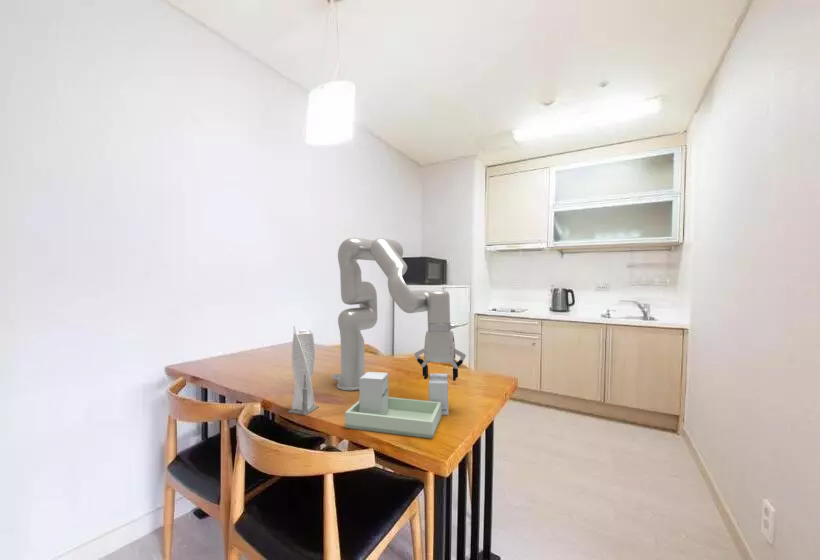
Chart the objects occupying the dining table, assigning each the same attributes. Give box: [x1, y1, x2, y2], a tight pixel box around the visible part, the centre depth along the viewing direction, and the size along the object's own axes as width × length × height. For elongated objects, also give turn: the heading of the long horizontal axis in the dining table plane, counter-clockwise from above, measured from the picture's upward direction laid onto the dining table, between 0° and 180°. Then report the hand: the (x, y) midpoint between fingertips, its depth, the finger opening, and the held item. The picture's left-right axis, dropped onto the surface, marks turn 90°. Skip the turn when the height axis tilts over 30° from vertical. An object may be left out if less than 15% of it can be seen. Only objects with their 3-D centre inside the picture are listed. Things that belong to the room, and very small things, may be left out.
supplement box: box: [358, 371, 389, 415], centre depth 102 cm, size 7×7×13 cm
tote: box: [344, 396, 443, 440], centre depth 99 cm, size 26×15×4 cm, turn 75°
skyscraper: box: [287, 325, 320, 416], centre depth 110 cm, size 8×8×28 cm
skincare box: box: [428, 373, 450, 416], centre depth 110 cm, size 10×6×10 cm, turn 174°
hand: (440, 378), depth 109 cm, fingers open, 9 cm apart
